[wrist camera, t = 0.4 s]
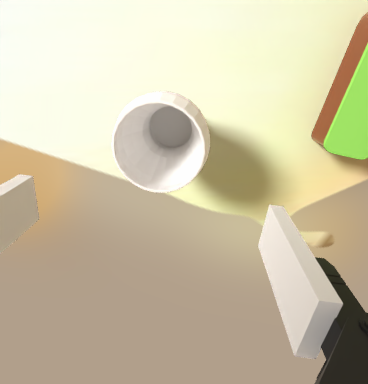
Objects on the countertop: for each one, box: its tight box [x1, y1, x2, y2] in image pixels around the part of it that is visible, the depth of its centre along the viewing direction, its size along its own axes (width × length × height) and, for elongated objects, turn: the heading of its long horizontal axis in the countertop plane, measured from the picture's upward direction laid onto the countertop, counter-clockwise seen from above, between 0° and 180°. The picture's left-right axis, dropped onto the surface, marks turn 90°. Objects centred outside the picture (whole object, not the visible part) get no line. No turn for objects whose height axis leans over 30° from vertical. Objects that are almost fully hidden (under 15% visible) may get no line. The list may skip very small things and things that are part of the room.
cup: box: [112, 91, 210, 193], centre depth 33 cm, size 11×11×15 cm
